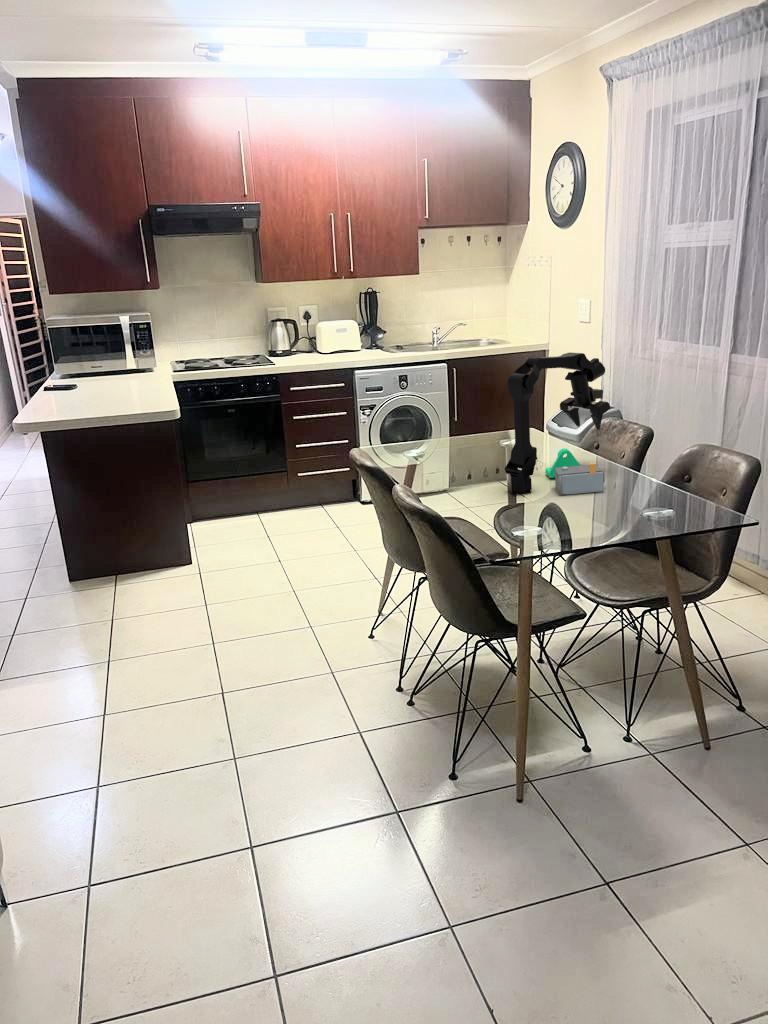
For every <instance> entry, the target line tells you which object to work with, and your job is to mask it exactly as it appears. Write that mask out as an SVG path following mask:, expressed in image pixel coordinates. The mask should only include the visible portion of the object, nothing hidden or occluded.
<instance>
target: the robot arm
mask: <svg viewBox="0 0 768 1024" xmlns="http://www.w3.org/2000/svg"><path fill="white" fill-rule="evenodd" d="M526 359H527V360H526V361H525V362H524V363H522V364H521V365H520V366H519V367H517V368H516V369H515V370H514V371H513V373H512V374H511V375H510V376H509V377H508V378H507V388H508V393H509V395H510V397H511V399H512V401H513V414H514V415H513V417H514V419H513V420H514V442H515V443H514V445H513V447H512V449H511V451H510V459H509V461H508V462H507V464H506V465H505V467H504V472H505V474H507V475H509V481H510V484H509V485H510V488H509V490H510V493H511V496H512V495H513V496H514V495H525V494H532V490H533V487H532V486H533V485H532V484H533V483H532V477H531V476H533V475H534V471H535V466H536V464H537V460H538V454H537V453H538V450H537V449H538V448H537V447H536V446H532V443H531V433H530V432H531V427H530V423H531V422H530V399H531V397H532V395H533V394H534V386H535V384H536V383H537V381H539V378H540V373H541V371H542V370H543V369H544V370H546V369H565V370H572V372H571V371H568V373H567V374H566V376H565V377H564V380H566V381H570V386H571V392H570V397H567V398H566V399H564V400H563V401H560V404H559V409H560V410H559V411H562V412H563V413H565V414H566V415H567V416H568V418H569V419H570V420H571V421H572V423H574V425H576V427H577V428H579V427H580V426H581V420H580V413H579V410H580V409H586V410H589V413H590V417H591V420H592V422H593V424H594V425H593V426H595V428H596V431H600V429H601V426H602V425H601V424H602V420H603V416H604V414H606V413H607V412H608V411H609V410H611V405H610V402H608V401H603V398H604V389H600V388H599V389H598V388H593V387H592V386H590V384H589V383H592V382H593V381H596V380H597V379H599V378H600V377H602V376H604V375H605V373H606V367H605V366H604V364H603V363H602V362H601V361H600V359H599V358H596V357H595V358H594V357H593V358H592V359H591V360H589V358H587V355H586V354H585V353H583V352H581V353H580V352H566V353H562V354H561V355H559V356H558V355H557V356H542V357H541V356H531V357H528V358H526ZM529 373H530V374H529ZM571 396H572V397H571ZM598 399H601V400H599V401H598V402H597V400H598Z"/></svg>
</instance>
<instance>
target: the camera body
mask: <svg viewBox="0 0 768 1024" xmlns="http://www.w3.org/2000/svg"><path fill="white" fill-rule="evenodd" d="M580 465H581V464H580ZM596 472H603V481H604V482H605V479H606V478H605V473H604V471H603V470H602V469H601V467H600V466H599V465H598V463H596ZM584 473H589V464H583V465H581V466H570V467H559V468H555V477H554V482H555V489H556V491H557V490H558V491H557V493H558V492H559V476H562V475H573V474H584Z"/></svg>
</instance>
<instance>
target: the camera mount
mask: <svg viewBox="0 0 768 1024" xmlns="http://www.w3.org/2000/svg"><path fill="white" fill-rule="evenodd" d="M565 455H566V456H565ZM564 456H565V457H564ZM570 466H581V464H580V462H578V460H577V458H576V457H575V456H574V455H573V453H572V452H571V451H570V450H568V448H565V447H563V448H561V449H559V451H558V452H557V457H556V458H555V461H554V463H553V464H552V466H551V467H545V474H546V475H547V476H548V477H549V479H551V478H552V479H553V478H554V479H555V468H559V467H570Z"/></svg>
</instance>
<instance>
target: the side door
mask: <svg viewBox="0 0 768 1024" xmlns="http://www.w3.org/2000/svg"><path fill="white" fill-rule="evenodd" d="M596 464H597V463H596V462H594V463H593V462H592V463H589V464H588V465H589V473H584V474H573V475H562V476H559V493H558V495H559V494H560V495H559V496H563V495H562V494H566V495H576V494H588V493H599V492H604V483H605V481H603V472H604V471H603V472H596Z"/></svg>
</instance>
